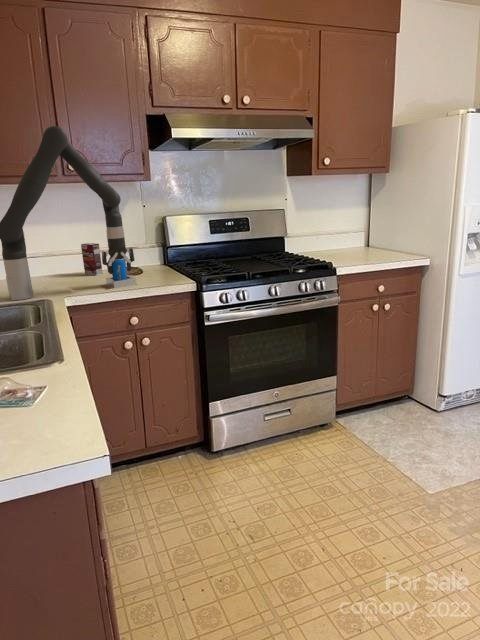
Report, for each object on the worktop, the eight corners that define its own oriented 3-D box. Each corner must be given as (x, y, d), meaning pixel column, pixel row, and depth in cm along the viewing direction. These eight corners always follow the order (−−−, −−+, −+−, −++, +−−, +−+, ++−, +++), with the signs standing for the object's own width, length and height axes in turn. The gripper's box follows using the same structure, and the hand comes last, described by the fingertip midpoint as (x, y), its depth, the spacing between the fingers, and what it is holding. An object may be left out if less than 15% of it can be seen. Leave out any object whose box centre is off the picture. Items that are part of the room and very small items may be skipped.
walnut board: (106, 291, 211) (105, 289, 211) (98, 287, 219) (98, 285, 219) (138, 285, 219) (137, 284, 219) (130, 282, 227) (129, 280, 227)
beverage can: (113, 286, 216) (110, 260, 212) (113, 283, 222) (110, 257, 218) (127, 285, 217) (125, 259, 214) (128, 282, 223) (125, 256, 220)
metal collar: (114, 288, 213) (113, 281, 212) (106, 284, 221) (105, 278, 220) (136, 284, 218) (135, 278, 217) (128, 280, 227) (127, 274, 226)
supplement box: (84, 274, 250) (80, 244, 245) (91, 272, 254) (87, 242, 249) (96, 275, 246) (92, 244, 241) (103, 273, 250) (99, 243, 245)
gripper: (102, 239, 207) (107, 276, 211) (134, 235, 214) (137, 271, 219) (97, 237, 213) (102, 273, 217) (127, 234, 220) (131, 269, 225)
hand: (120, 272), depth 218 cm, fingers open, 8 cm apart
